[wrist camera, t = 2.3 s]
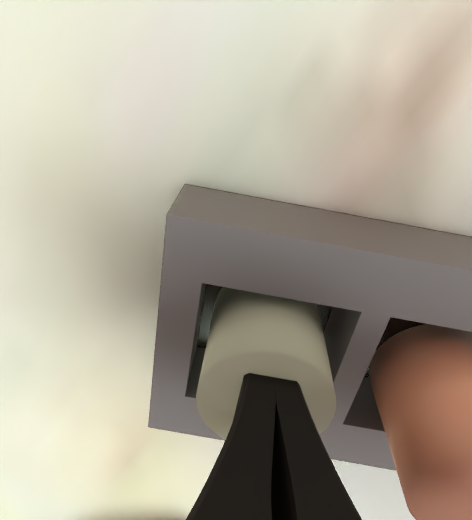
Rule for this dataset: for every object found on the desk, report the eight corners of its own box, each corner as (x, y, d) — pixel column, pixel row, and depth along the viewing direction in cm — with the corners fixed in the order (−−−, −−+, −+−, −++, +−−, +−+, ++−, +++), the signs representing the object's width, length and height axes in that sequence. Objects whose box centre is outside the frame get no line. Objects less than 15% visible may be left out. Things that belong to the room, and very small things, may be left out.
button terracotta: (510, 335, 12) (615, 460, 8) (457, 416, 13) (524, 548, 10) (391, 313, 12) (445, 430, 8) (354, 398, 13) (384, 524, 10)
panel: (731, 285, 12) (828, 335, 10) (578, 449, 16) (625, 510, 14) (184, 184, 12) (166, 214, 10) (164, 375, 16) (148, 426, 14)
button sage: (331, 278, 13) (355, 366, 9) (304, 360, 15) (315, 460, 11) (222, 259, 13) (205, 339, 9) (208, 343, 14) (188, 438, 11)
